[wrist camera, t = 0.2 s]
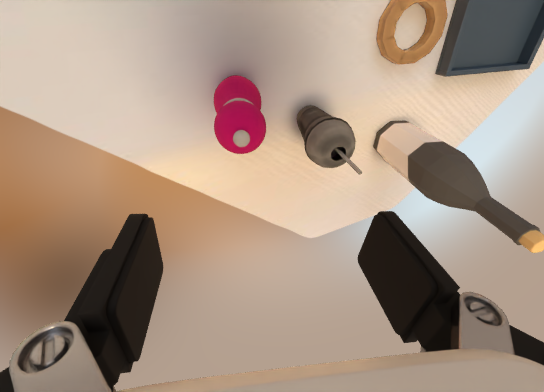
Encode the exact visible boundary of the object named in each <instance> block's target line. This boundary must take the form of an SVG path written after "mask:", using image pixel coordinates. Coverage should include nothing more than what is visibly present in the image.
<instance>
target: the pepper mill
mask: <svg viewBox="0 0 544 392" xmlns="http://www.w3.org/2000/svg"><path fill="white" fill-rule="evenodd" d="M214 106H215V110H216V112H217V115H216V118H215V123H214V130H215V135H216V137H217V139H218V141H219V143H220V144H221V145H222V146H223V147H224V148H225V149H227V150H228V151H230V152H233V153H237V154H244V153H249V152H252V151H253V150H255V149H256V148H257V147H259V145H260V144H261V143H262V141H263V140H264V137H265V133H266V123H265V119H264V116H263V114H262V113H261V111H260V109H261V96H260V93H259V91H258V89H257V87H256V86H255V85H254V84H253V83H252V82H251V81H250V80H248V79H246V78H245V77H242V76H238V75H235V76H230V77H228V78H226V79H225V80H224V81H222V82H221V83H220V84H219V86H218V87H217V89H216V91H215V94H214Z"/></svg>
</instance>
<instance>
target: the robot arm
mask: <svg viewBox="0 0 544 392" xmlns="http://www.w3.org/2000/svg"><path fill="white" fill-rule="evenodd" d="M358 263H359V265H360V267H361V269H362V271H363V273H364V275H365V277H366V278H367V280H368V282H369V284H370V286H371V288H372V290H373V292H374V293H375V295H376V297H377V299H378V301H379V303H380V305H381V307H382V308H383V310H384V312H385V314H386V316H387V318H388V320H389V321H390V323H391V325H392V327H393V329H394V331H395V332H396V333H397V334H398V335H400V337H401V338H402V340H403V342H404V343H409V342H416V341H417V340H418V341H419V343H420V344H421V351H420V353H413V354H402V355H393V356H384V357H375V358H366V359H357V360H349V361H339V362H330V363H322V364H313V365H305V366H295V367H287V368H278V369H270V370H261V371H253V372H245V373H236V374H228V375H220V376H211V377H203V378H196V379H188V380H182V381H174V382H166V383H159V384H152V385H147V386H141V387H136V388H130V389H125V390H121V391H117V392H544V343H543V342H542V341H539V340H537V339H536V338H534V337H532V336H530V335H528V334H526V333H524V332H522V331H520V330H518V329H516V328H514V327H512V326H511V325H509V322H508V320H507V317H506V315H505V314H504V312H503V311H502V310H501V309H500V308H499V307H498V306H497V305H496V304H495V303H494V302H492V301H491V300H489V299H488V298H486V297H484V296H482V295H480V294H477V293H473V292H465V293H462V294H461V295H460V294H459V293H458V292H457V291H458V289H459V288H460V287H459V286H458V285H457V284H456V282H455V281H454V280H453V279H452V278H451V277H450V275H449V274H448V273H447V272H446V271H445V270H444V269H443V267H442V266H441V265H440V264H439V263H438V262H437V261H436V259H434V257H433V256H432V255H431V254H430V252H429V251H428V250H427V249H426V248H425V247H424V246H423V245H422V243H421V242H420V241H419V240H418V239H417V238H416V236H415V235H414V234H413V233H412V232H411V231H410V230H409V228H408V227H407V226H406V225H405V224H404V223H403V221H402V220H401V219H400V218H399V217H398V216H397V215H396V213H394V212H392V211H381V212H379V213H378V214H377V215H375V216H374V218H373V220H372V223H371V226H370V228H369V230H368V233H367V235H366V238H365V240H364V243H363V245H362V248H361V250H360V252H359V255H358ZM162 273H163V262H162V257H161V252H160V248H159V243H158V238H157V234H156V229H155V224H154V220H153V218H149V217H148V215H147V214H130V215H129V216H128V218H127V220H126V222H125V224H124V226H123V228H122V230H121V231H120V233H119V235H118V237H117V239H116V241H115V243H114V245H113V247H112V249H106V250H105V251H103V253H102V254H101V255H100V257H99V259H98V261H97V263H96V265H95V266H94V268H93V270H92V272H91V273H90V275H89V277H88V279H87V281H86V282H85V284H84V286H83V288H82V290H81V291H80V293H79V295H78V297H77V298H76V300H75V302H74V304H73V306H72V307H71V309H70V311H69V313H68V315H67V316H66V318H65V320H64V321H59V322H55V323H51V324H48V325H46V326H44V327H42V328H39V329H38V330H36V331H35V332H33V333H32V334H31V335H29V336H28V337H27V338H26V339H25V340H24V341H22V342H21V343H20V345H19V346H18V347H17V349H16V350H15V351H14V353H13V355H12V357H11V360H10V362H9V367H8V368H7V369H5V370H3V371H2V372H0V392H116V390H115V388H114V385H115V384H116V383H117V382H118V379H119V375H120V373H127V372H131V369H132V365H133V362H134V361H138V360H139V358H140V355H141V351H142V348H143V344H144V340H145V337H146V333H147V329H148V326H149V322H150V318H151V314H152V311H153V307H154V303H155V299H156V296H157V292H158V288H159V285H160V281H161V277H162Z"/></svg>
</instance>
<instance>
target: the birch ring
mask: <svg viewBox="0 0 544 392" xmlns="http://www.w3.org/2000/svg"><path fill="white" fill-rule="evenodd" d="M414 3H419V4H420V5H421V6H422V7H424V8H425V11H426V16H427V23H426V28H425V32H424V34H423V35H422V37H421V38H420V39H419V41H418V42H417V43H416V44H415V45H414V46H412V47H411V48H409V49H408V50H402V49H400V48H399V47H397V45H396V41H395V38H394V33H395V28H396V23H397V21H398V19H399V18H400V16H401V15H402V13H403V11H404V10H405V9H407V8H408V7H409V6H411V5H412V4H414ZM446 19H447V9H446V2H445V0H391V1H390V3H389V4H388V6H387V8H386V9H385V11H384V13H383V15H382V16H381V18H380V20H379V26H378V33H377V43H378V46H379V49H380V52H381V55H382V56H384V57H385V58H387V59H388V60H389V61H391V62H392V63H396V64H409V63H415V62H417V61H418V60H420V59H421V58H423V57H424V56H426V55H427V54H429V53H430V52H431V50H432V49H433V47H434V46H435V45H436V43H437V42H438V40H439V39H440V37H441V36H442V33H443V29H444V26H445V22H446Z"/></svg>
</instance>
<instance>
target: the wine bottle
mask: <svg viewBox="0 0 544 392" xmlns="http://www.w3.org/2000/svg"><path fill="white" fill-rule="evenodd" d="M374 148H375V149H376V151H377V152H378V153H379V154H380V155H381V157H382V158H383V159H384V160H385V161H386V162H388V163H389V164H390V165H391V166H392V167H393V168H394V169H395V170H397V171H398V172H399V173H400V174H401V175H402V176H403V177H404V178H406V179H407V180H408V181H409V182H410V183H411V184H412V185H413V186H415V187H416V188H417V189H418V190H419V191H420V192H421V193H422V194H424V195H425V196H426V197H427V198H429V199H431V200H433V201H435V202H437V203H440V204H443V205H446V206H449V207H455V208H460V209H466V210H471V211H476V212H477V213H478V214H480V215H481V216H482V217H484V218H485V219H486V220H488V221H489V222H490V223H491V224H493V225H494V226H496V227H497V228H498V229H499V230H500V231H502V232H503V233H504V234H506V235H507V236H508V237H510V238H511V239H512V240H513V241H514V242H515V243H516V244H517V245H523V246H524V247H525V248H527V249H528V250H529V251H531V252H532V253H536V252H541V251H543V250H544V235H543V234H542V233H541V232H540V230H539V228H538V227H536V226H535V225H532V224H530V223H529V222H527V221H526V220H524V219H523V218H521V217H520V216H518V215H517V214H515V213H514V212H512V211H511V210H509V209H508V208H506V207H505V206H503V205H502V204H500V203H499V202H497V201H496V200H494V199H493V198H491V196H490V194H489V191H488V189H487V186H486V184H485V182H484V180H483V178H482V176H481V174H480V172H479V171H478V170H477V168H476V167H475V165H474V164H473V162H472V161H471V160H470V159H469V158H468V157H467V156H466V155H465V154H464V153H462V152H461V151H459V150H457V149H455V148H453V147H452V146H450V145H448V144H446V143H445V142H443V141H441V140H439V139H437V138H436V137H434V136H432V135H430V134H428V133H427V132H425V131H423V130H421V129H420V128H418V127H416V126H414V125H412V124H411V123H409V122H407V121H390V122H389V123H388V124H386V125H385V126H384V127H383V128H382V129H381V130H379V131H378V132H377V135H376V139H375V143H374Z"/></svg>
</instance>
